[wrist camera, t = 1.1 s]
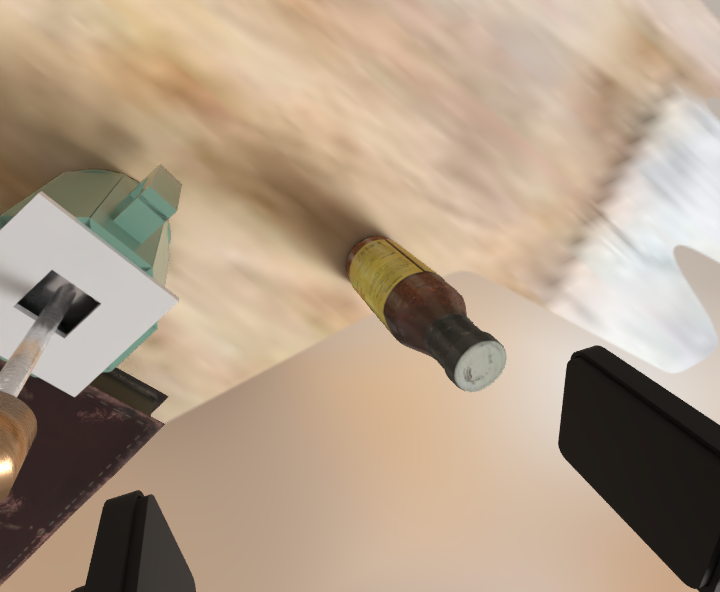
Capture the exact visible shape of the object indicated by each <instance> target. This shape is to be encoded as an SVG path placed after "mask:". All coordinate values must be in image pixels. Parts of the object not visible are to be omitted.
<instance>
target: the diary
mask: <svg viewBox="0 0 720 592" xmlns="http://www.w3.org/2000/svg"><path fill="white" fill-rule="evenodd" d="M6 363H7V362H6V361H4V360H2V359H0V371H1V370H2V369H3V367H4V366H5V364H6ZM17 398H18V399H20V400H21V401H23V402H24V403H25V404H26V405H27V406H28V407H29V408H30V409H31V410H32V412H33V414H34V415H35V418H36V421H37V433H36V436H35V438H34V440H33V443H32V445H31V447H30V449H29V451H28V453H27V456H26V458H25V460H24V462H23V464H22V466H21V469H20V471H19V473H18V475H17V477H16V479H15V481H14V484H13V486H12V488H11V490H10V492H9V494H8V496H7V497H6V498H5V500H4V501H3V502H2V503H1V504H0V586H1V585H2V584H3V583H4V582H5V581H6V580H7V579H8V578H9V577H10V576H11V575H12V574H13V573H14V572H15V571H16V570H17V569H18V568H19V567H20V566H21V565H22V564H23V563H24V562H25V561H26V560H27V559H28V558H29V557H30V556H31V555H32V554H33V553H34V552H35V551H36V550H37V549H38V548H39V547H40V546H41V545H42V544H43V543H44V542H45V541H46V540H47V539H48V538H49V537H50V536H51V535H52V534H53V533H54V532H55V531H56V530H57V529H58V528H59V527H60V526H61V525H62V524H63V523H64V522H65V521H66V520H67V519H68V518H69V517H70V516H71V515H72V514H73V513H74V512H75V511H76V510H78V509H79V508H80V507H81V506H82V505H83V504H84V503H85V502H86V501H87V500H88V499H89V498H90V497H91V496H92V495H93V494H94V493H96V492H97V491H98V490H99V489H100V488H101V487H102V486H103V485H104V484H105V483H106V482H107V481H108V480H109V479H110V478H112V477H113V476H114V475H115V474H116V473H117V472H118V471H119V470H120V469H121V468H122V467H123V466H124V465H125V464H126V463H127V462H128V461H129V460H130V459H131V458H132V457H133V456H134V455H135V454H136V453H137V452H138V451H139V450H140V449H141V448H142V447H143V446H144V445H145V444H146V443H147V442H148V441H149V440H150V439H151V438H152V437H153V436H154V435H155V434H156V433H157V432H158V431H159V430H160V429H161V428H162V427H163V426H164V425H165V424H164V423H162V422H160V421H158V420H156V419H154V418H153V417H151V413H152V412H153V411H154V410H155V409H157V408H158V407H159V406H160V405H161V404H162V403H163V402H164V401H165V400H166V399H167V398H168V396H166V395H165V394H163V393H161V392H159V391H158V390H156V389H154V388H152V387H151V386H149V385H147V384H145V383H143V382H141V381H140V380H138V379H136V378H134V377H132V376H131V375H129V374H127V373H125V372H123V371H122V370H120V369H118V368H114V369H113V370H112V371H110V372H102V373H101V374H99V375H98V376H97V377H96V378H95V379H94V380H93V381H92V382H91V383H90V384H89V385H88V386H87V387H85V388H84V389H83V390H82V391H81V392H80V393H79V394H78V395H77V396H76V397H73V396H71V395H69V394H68V393H66V392H64V391H62V390H61V389H59V388H57V387H55V386H53V385H52V384H50V383H48V382H46V381H44V380H43V379H41V378H39V377H33V376H31V375H30V376H29V377H28V379H27V381H26V382H25V384H24V386H23V388H22V389H21V391H20V393H19V395H18V396H17Z"/></svg>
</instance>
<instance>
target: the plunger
mask: <svg viewBox="0 0 720 592" xmlns="http://www.w3.org/2000/svg"><path fill="white" fill-rule="evenodd" d="M17 304H19V305H21V306H22V307H24V308H25V309H27V310H29V311H30V312H32V313H33V314H35V315H36V316H38V318H37V319H36V320H35V322H34V323H33V325H32V326H31V328H30V329H29V331H28V332H27V334H26V335H25V337H24V338H23V339H22V341H21V342H20V344H19V345H18V347H17V348H16V350H15V351H14V353H13V354H12V355H11V357H10V358H9V360H8V361H7V363H6V364H5V366H4V367H3V369H2V370H1V371H0V504H1V503H2V502H3V501H4V500H5V498H6V497H7V496H8V494H9V492H10V490H11V488H12V486H13V484H14V481H15V479H16V477H17V475H18V473H19V471H20V469H21V466H22V464H23V462H24V460H25V458H26V456H27V453H28V451H29V449H30V447H31V445H32V443H33V440H34V438H35V436H36V433H37V421H36V418H35V415H34V414H33V412H32V410H31V409H30V408H29V407H28V406H27V405H26V404H25V403H24V402H23V401H21V400H20V399H18V398H17V396H18V395H19V393H20V391H21V389H22V388H23V386H24V384H25V382H26V381H27V379H28V377H29V376H30V374H31V372H32V370H33V369H34V367H35V365H36V363H37V362H38V360H39V358H40V357H41V355H42V353H43V351H44V350H45V348H46V346H47V344H48V343H49V341H50V339H51V338H52V336H53V334H54V332H55V331H56V329H59V330H60V331H62V332H63V333H65V334H68V333H69V332H70V331H71V330H72V329H73V328H74V327H75V326H76V325H77V324H78V323H79V322H80V321H81V320H82V319H84V318H85V317H86V316H87V315H88V314H89V313H90V312H91V311H92V310H93V309H94V308H95V307H96V306H97V305H98V304H100V303H99V302H98V301H97V300H95V299H94V298H92V297H91V296H89V295H88V294H86V293H85V292H84V291H82V290H81V289H79V288H78V287H76V286H75V285H74V284H72V283H71V282H69V281H68V280H66V279H65V278H63V277H62V276H61V275H59V274H58V273H56V272H55V271H53V270H51V271H50V272H49V273H48V274H47V275H46V276H45V277H44V278H43V279H42V280H41V281H40V282H39V283H37V284H36V285H35V286H34V287H33V288H32V289H31V290H30V291H29V292H28V293H27V294H26V295H25V296H24V297H23V298H22V299H21V300H20V301H19V302H17Z"/></svg>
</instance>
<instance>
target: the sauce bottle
mask: <svg viewBox="0 0 720 592" xmlns="http://www.w3.org/2000/svg"><path fill="white" fill-rule="evenodd" d="M346 271H347V275H348V277H349V279H350V282H351V284H352V286H353V288H354V289H355V290H356V292H357V293H358V294H359V295H360V296H361V298H362V299H363V300H364V301H365V302H366V304H367V305H368V306H369V307H370V309H371V310H372V311H373V312H374V313H375V314H376V316H377V317H378V318H379V319H380V321H381V322H382V323H383V324H384V325H385V326H386V328H387V329H388V330H389V331H390V332H391V334H392V335H393V336H394V337H395V338H396V339H397V340H398V341H399V342H400V343H401V344H403V345H405V346H407V347H409V348H412V349H414V350H417V351H419V352H422V353H424V354H426V355H429V356H431V357H433V358H434V359H435V360H437V361H438V363H440V365H441V366H442V367H443V368H444V369H445V372H446V374H447V376H448V378H449V379H450V380H451V381H452V382H453V383H454V384H455V385H456V386H457V387H458V388H460V389H462V390H464V391H469V392H476V391H480V390H482V389H484V388H486V387H487V386H489V385H491V384H492V383H493V382H494V381H495V380H496V379H497V378H498V377H499V376H500V375H501V373H502V371H503V369H504V368H505V364H506V352H505V349H504V347H503V346H502V345H501V344H500V343H499V342H498V341H497V340H496V339H495V338H494V337H493V336H492V335H491V334H489V333H486V332H483V331H481V330H480V329H479V328H477V327H476V326H475V325H474V324H473V322H471V321H470V319H468V318H467V314H466V307H465V302H464V299H463V297H462V296H461V295H460V294H459V293H458V292H457V290H455V289H454V288H453V287H452V286H450V285H449V284H448V283H446V282H445V280H444V279H443V278H442V277H441V276H439V275H438V274H437V273H436V272H434V271H433V270H432V269H430V268H429V267H428V266H426V265H425V264H424V263H422V262H421V261H420V260H418V259H417V258H416V257H414V256H413V255H412V254H411V253H409V252H408V251H407V250H405V249H404V248H403V247H401V246H400V245H399V244H397V243H396V242H394V241H392V240H389V239H386V238H383V237H380V236H374V237H369V238H366V239H365V240H363V241H361V242H359V243H358V244H357V245H356V246H355V247H354V248H353V249H352V250H351V252H350V255H349V256H348V260H347V263H346Z"/></svg>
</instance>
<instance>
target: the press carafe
mask: <svg viewBox="0 0 720 592" xmlns="http://www.w3.org/2000/svg"><path fill="white" fill-rule="evenodd" d="M181 187H182V184H181V183H180V182H179V181H178V180H177V179H176V178H175V177H174V176H173V175H171V174H170V173H169V172H168V171H167V170H166V169H165V168H164V167H163V166H162V165H161V164H160V165H159V166H158V167H157V168H156V169H154V170H153V171H152V172H151V173H150V174H149V175H148V176H147V177H146V178H145V179H144V180H143V181H142V182H141V183H139V182H138V181H136V180H134V179H133V178H130V177H128V176H127V175H126V174H121V173H118V172H114V171H110V170H103V169H85V170H78V171H65V172H63V173H62V174H60V175H59V176H57V177H56V178H54V179H53V180H51V181H50V182H48V183H47V184H45V185H44V186H42V187H41V188H39V189H38V190H37V191H35V192H34V193H32V194H31V195H29V196H28V197H26V198H25V199H23V200H22V201H20V202H19V203H17V204H16V205H14V206H13V207H11V208H10V209H9V210H7V211H6V212H4V213H3V214H1V215H0V359H2V360H4V361H6V362H7V361H8V360H9V358H10V357H11V355H12V354H13V353H14V351H15V350H16V348H17V347H18V345H19V344H20V342H21V341H22V339H23V338H24V337H25V335H26V334H27V332H28V331H29V329H30V328H31V326H32V325H33V323H34V322H35V320H36V319H37V318H38V316H36V315H35V314H33V313H32V312H30V311H29V310H27V309H25V308H24V307H22V306H21V305H19V304H17V302H19V301H20V300H21V299H22V298H23V297H24V296H25V295H26V294H27V293H28V292H29V291H30V290H31V289H32V288H33V287H34V286H35V285H36V284H37V283H39V282H40V281H41V280H42V279H43V278H44V277H45V276H46V275H47V274H48V273H49V272H50V271H51V270H53V271H55V272H56V273H58V274H59V275H61V276H62V277H63V278H65V279H66V280H68V281H69V282H71V283H72V284H74V285H75V286H76V287H78V288H79V289H81V290H82V291H84V292H85V293H86V294H88V295H89V296H91V297H92V298H94V299H95V300H97V301H98V302H99V303H100V304H98V305H97V306H96V307H95V308H94V309H93V310H92V311H91V312H90V313H89V314H88V315H87V316H86V317H85V318H84V319H82V320H81V321H80V322H79V323H78V324H77V325H76V326H75V327H74V328H73V329H72V330H71V331H70V332H69V333H68V334H65V333H63V332H62V331H60V330H59V329H56V331H55V332H54V334H53V336H52V338H51V339H50V341H49V343H48V344H47V346H46V348H45V350H44V351H43V353H42V355H41V357H40V358H39V360H38V362H37V363H36V365H35V367H34V369H33V370H32V372H31V374H30V375H31V376H33V377H39V378H41V379H43V380H44V381H46V382H48V383H50V384H52V385H53V386H55V387H57V388H59V389H61V390H62V391H64V392H66V393H68V394H69V395H71V396H73V397H76V396H77V395H78V394H79V393H80V392H81V391H82V390H83V389H84V388H85V387H87V386H88V385H89V384H90V383H91V382H92V381H93V380H94V379H95V378H96V377H97V376H98V375H99V374H101V373H102V372H110V371H112V370H113V369H114V368H116V367H117V366H118V365H119V364H120V363H121V362H122V361H123V360H124V359H125V358H126V357H127V356H129V355H130V354H131V353H132V352H133V351H134V350H135V349H136V348H137V347H138V346H139V345H140V344H142V343H143V342H144V341H145V340H146V339H147V338H148V337H149V336H150V335H151V334H152V333H153V332H155V331H156V330H157V328H158V323H159V319H160V318H161V317H162V316H163V315H164V314H165V313H167V312H168V311H169V310H170V309H171V308H172V307H173V306H174V305H175V304H176V303H177V302H178V301H179V298H178V297H177V296H176V295H174V294H173V293H172V292H171V291H169V290H168V289H167V288H165V283H166V278H167V272H168V266H169V261H170V248H169V245H170V239H171V231H170V224H169V220H168V219H169V218H170V217H171V216H172V215H173V214H174V213H175V212H176V211H177V209H178V203H179V198H180V192H181Z"/></svg>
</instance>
